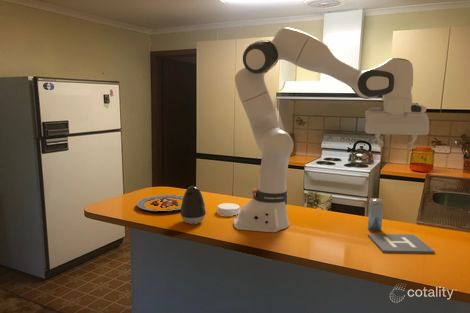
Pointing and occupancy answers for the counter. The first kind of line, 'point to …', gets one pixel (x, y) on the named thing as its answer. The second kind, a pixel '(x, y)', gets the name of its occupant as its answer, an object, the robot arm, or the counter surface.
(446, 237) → the counter surface
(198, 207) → the black rounded cylinder
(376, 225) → the canister
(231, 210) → the coaster
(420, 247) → the letter board
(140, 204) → the ceramic plate
